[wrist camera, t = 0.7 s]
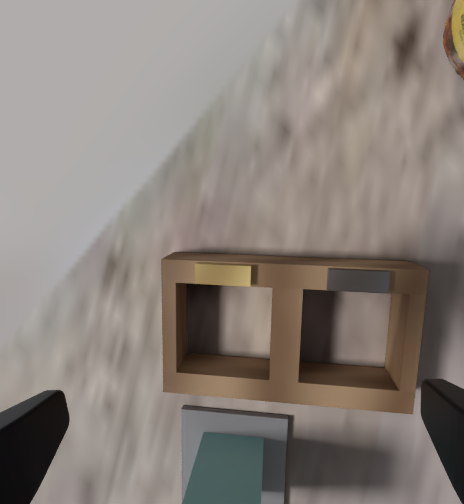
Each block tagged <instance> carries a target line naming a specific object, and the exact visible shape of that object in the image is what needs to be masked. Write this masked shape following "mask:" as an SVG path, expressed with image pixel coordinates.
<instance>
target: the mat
mask: <svg viewBox="0 0 464 504" xmlns="http://www.w3.org/2000/svg"><path fill="white" fill-rule="evenodd" d="M181 414H182V500H183V498H184V495H185V492H186V488H187V485H188V482H189V478H190V475H191V472H192V468H193V465H194V462H195V458H196V455H197V452H198V448H199V445H200V442H201V438H202V435H203V432H211V433H221V434H230V435H240V436H250V437H260V438H264V443H263V470H262V496H261V504H284V489H285V469H286V449H287V429H288V415H279V414H268V413H257V412H247V411H236V410H226V409H215V408H204V407H194V406H183V407H182V409H181Z"/></svg>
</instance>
